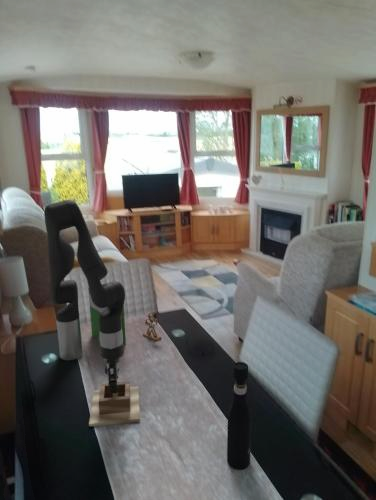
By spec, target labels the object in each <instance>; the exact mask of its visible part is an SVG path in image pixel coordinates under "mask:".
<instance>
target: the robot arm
mask: <svg viewBox="0 0 376 500" xmlns="http://www.w3.org/2000/svg"><path fill="white" fill-rule="evenodd" d="M43 212H44V213H43V214H44V215H43V216H44V223H45V228H46V235H47V246H48V247H47V250H48V255H47V256H48V267H49V297H50V301H51V302H52V304H54V305H64V304H66V305H65V306H64V307H61V308H60V309H59V310H57V312H56V314H55V320H56V329H57V330H56V331H57V339H58V347H59V357H60V359H61V360H64V361H74V360H77V359H79V358H81V357H82V356H83V343H82V331H81V320H80V311H79V310H80V309H79V288H78V284H77V281H75V280H74V279H69V280H64V279H65V278H66V277H67V276H68V275H69V274H70V273H71V272H72V270H74V269H73V268H74V266H75V262H76V261H75V260H76V259H77V262H78V265H79V267H80V269H81V271H82V273H83V274H84V276H85V279H86V281H87V284H88V288H89V290H90V295H91V299H92V301H93V303H94V304H95V305H96V306H97V307H99V308H105V307H107V308H106V309H105V310H104V311H103V312H102V313H101V314H100V315H99V328H100V334H99V339H100V341H99V348H100V349H99V351H100V357H101V358H102V359H104V360H106V361H107V360H108V361H109V362H107V363H106V362H105V366H106V365H107V374H106V375H107V379H108V382H107V383H108V385H109V386H110V393H111V394H116V393H117V382H118V378H119V372H118V368H119V366H120V358H122V357H123V355H124V353H125V350H124V349H125V348H124V344H123V333H122V325H121V314H122V310H123V306H124V307H125V300H126V291H125V288H124V285H123V284H122V283H121V282H119V281H117V280H113V281H110V282H108V283H102V282H101V280H103V279H104V278H105V277H107V275H108V273H109V272H108V269H107V268H108V267H106V265H105V263H104V261H103V259H102V258H101V256H100V254H99V252H98V250H97V249H96V246H95V243H94V241H93V239H92V235H91V233H90V230H89V228H88V226H87V224H86V220H85V217H84V216H83V213H82V211H81V208H80V207H79V205H78V204H77V202H76V201H75V200H74V199H65V200H61V201H58V202H53V203H51V204H50V203H49V204H48V205H46V206H45V208H44V211H43ZM73 227H75V229H76V231H77V235H78V242H77V251H76V255H75V249H74V248H73V246H72V245H71V243H69V242H68V241H67V240H66V239H64V238H63V237H62V236H61V235H60V233H61V231H64V230H66V229H70V228H73ZM75 256H76V259H75ZM102 284H103V285H102ZM89 290H88V291H89ZM111 379H115V380H111Z"/></svg>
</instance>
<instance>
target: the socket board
mask: <svg viewBox="0 0 376 500" xmlns="http://www.w3.org/2000/svg"><path fill="white" fill-rule="evenodd" d="M108 383H109V382H105V383H104V382H103V383H100V388H99V389H97V390H93V395H92V401H91V408H90V415H89V421H88V426H89V427H98V426H99V427H100V426H108V425H118V424H126V423H127V424H128V423H137V422H140V421H141V413H140V389H139V388H140V386H131V381H130V380H129V381H127V380H126V381H117V392H118V394H117V395H118V397H113V394H111V393H110V386H109V385H108Z"/></svg>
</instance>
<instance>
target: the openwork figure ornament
mask: <svg viewBox="0 0 376 500" xmlns="http://www.w3.org/2000/svg"><path fill="white" fill-rule="evenodd" d="M147 317H148V319H146V320H145V326H148V328H147V331H146V332H144V333H142V336H143V337H145V338H146V337H147V339H149V340H151V341H153V342H155V341H156V342H158V341H160V340H161V339H162V336H160V335H158V334H157V332H156V329H155V326H157V325H158V323H159V321H158V319H157V318H155V315H154V313H152V312H151V313H148V316H147ZM148 321H149V322H148ZM150 329H151V330H150Z"/></svg>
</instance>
